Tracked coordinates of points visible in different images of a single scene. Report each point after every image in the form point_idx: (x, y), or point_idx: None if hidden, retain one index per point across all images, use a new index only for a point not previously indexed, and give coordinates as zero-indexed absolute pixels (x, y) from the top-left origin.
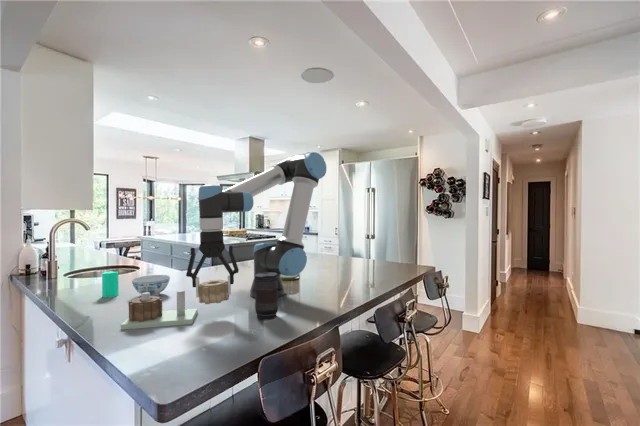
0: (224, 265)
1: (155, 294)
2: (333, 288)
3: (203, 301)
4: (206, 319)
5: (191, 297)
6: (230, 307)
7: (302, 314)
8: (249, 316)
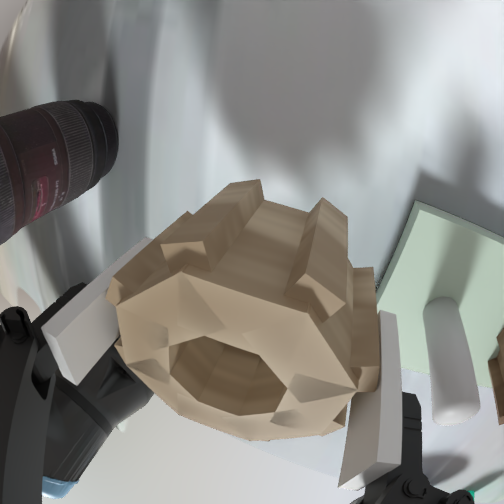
0: (6, 441)
1: None
2: (6, 296)
3: (350, 266)
4: None
5: (324, 456)
6: None
7: None
8: (143, 173)
